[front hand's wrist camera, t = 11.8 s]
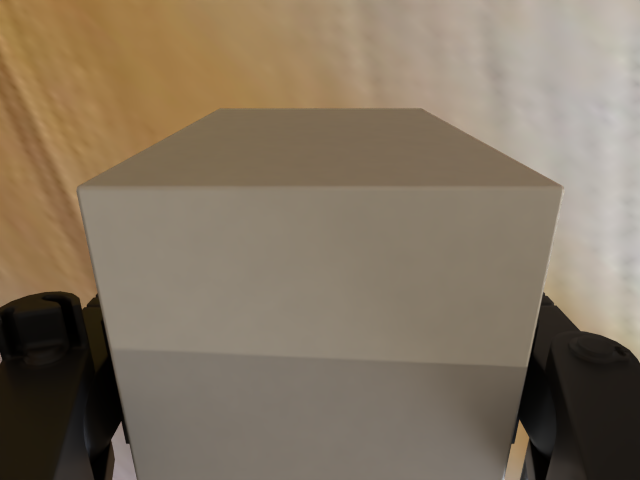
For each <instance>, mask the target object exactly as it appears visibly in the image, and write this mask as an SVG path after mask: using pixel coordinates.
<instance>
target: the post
mask: <svg viewBox="0 0 640 480" xmlns="http://www.w3.org/2000/svg"><path fill="white" fill-rule="evenodd" d="M563 195H564V187H563V186H562V185H560V184H558V183H556V182H554V181H552V180H551V179H549V178H547V177H545V176H543V175H542V174H540V173H538V172H536V171H534V170H532V169H531V168H529V167H527V166H525V165H523V164H522V163H520V162H518V161H516V160H514V159H512V158H511V157H509V156H507V155H505V154H503V153H501V152H500V151H498V150H496V149H494V148H492V147H491V146H489V145H487V144H485V143H483V142H481V141H480V140H478V139H476V138H474V137H472V136H470V135H469V134H467V133H465V132H463V131H461V130H460V129H458V128H456V127H454V126H452V125H450V124H449V123H447V122H445V121H443V120H441V119H440V118H438V117H436V116H434V115H432V114H430V113H429V112H427V111H425V110H423V109H421V108H414V109H218V110H216V111H214V112H213V113H211V114H209V115H207V116H205V117H204V118H202V119H200V120H198V121H196V122H194V123H193V124H191V125H189V126H187V127H185V128H183V129H182V130H180V131H178V132H176V133H174V134H172V135H171V136H169V137H167V138H165V139H163V140H162V141H160V142H158V143H156V144H154V145H152V146H151V147H149V148H147V149H145V150H143V151H141V152H140V153H138V154H136V155H134V156H132V157H131V158H129V159H127V160H125V161H123V162H121V163H120V164H118V165H116V166H114V167H112V168H110V169H109V170H107V171H105V172H103V173H101V174H99V175H98V176H96V177H94V178H92V179H90V180H89V181H87V182H85V183H83V184H81V185H79V186H78V187H77V196H78V201H79V206H80V210H81V215H82V220H83V225H84V229H85V234H86V239H87V244H88V248H89V253H90V258H91V263H92V267H93V272H94V277H95V282H96V286H97V291H98V296H99V301H100V306H101V310H102V315H103V320H104V325H105V329H106V334H107V339H108V344H109V348H110V353H111V358H112V363H113V367H114V372H115V377H116V382H117V386H118V391H119V396H120V401H121V406H122V410H123V415H124V420H125V425H126V429H127V434H128V439H129V444H130V448H131V453H132V458H133V463H134V467H135V472H136V477H137V480H504V477H505V472H506V467H507V462H508V458H509V453H510V448H511V443H512V439H513V434H514V429H515V424H516V419H517V415H518V410H519V405H520V400H521V396H522V391H523V386H524V381H525V377H526V372H527V367H528V362H529V357H530V353H531V348H532V343H533V338H534V334H535V329H536V324H537V319H538V314H539V310H540V305H541V300H542V295H543V291H544V286H545V281H546V276H547V272H548V267H549V262H550V257H551V252H552V248H553V243H554V238H555V233H556V229H557V224H558V219H559V214H560V209H561V205H562V200H563Z"/></svg>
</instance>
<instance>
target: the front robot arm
mask: <svg viewBox="0 0 640 480" xmlns="http://www.w3.org/2000/svg"><path fill="white" fill-rule="evenodd" d="M0 354H1V357H2V362H1V364H0V480H112V477H113V469H114V462H115V458H114V451H113V446H112V442H111V439H112V437H113V435H114V433H115V432H116V430H117V428H118V426H119V424H120V422H121V421H122V426H123V431H124V436H125V440H126V444H129V439H128V434H127V429H126V425H125V420H124V415H123V410H122V406H121V401H120V396H119V391H118V386H117V382H116V377H115V372H114V367H113V363H112V358H111V353H110V348H109V344H108V339H107V334H106V329H105V325H104V320H103V315H102V310H101V306H100V301H99V296H98V293H97V295H96V298H93V299H92V300H91V301H90V302H89V303H88V304H87V307H84V308H83V309H82V308H81V303H80V299H79V297H77V296H76V295H74V294H73V293H67V292H61V291H60V292H44V293H39V294H34V295H29V296H26V297H23V298H20V299H17V300H14V301H11V302H9V303H8V304H6V305H4V306H2V307H0ZM519 419H520V421H521V423H522V425H523V427H524V428H525V430H526V432H527V434H528V436H529V442H528V446H527V451H526V455H525V460H524V464H523V469H522V473H521V477H520V480H640V363H639V361H638V359H637V358H636V357H635V356H634V355H633V353H632V352H631V351H630V350H629V349H627V348H625V347H624V346H622V345H621V344H619V343H618V342H616V341H613V340H611V339H609V338H606V337H604V336H601V335H597V334H593V333H589V332H584V331H580V330H579V329H578V328H577V327H576V326H575V325H574V324H573V323H572V322H571V321H570V320H569V319H568V317H567V316H566V315H565V314H564V313H563V312H562V311H561V310H560V309H559V308H558V307H557V306H554V303H553V302H552V301H551V299H550V298H549V297H548V296H545V293H544V292H543V295H542V300H541V305H540V310H539V314H538V319H537V324H536V329H535V334H534V338H533V343H532V348H531V353H530V357H529V362H528V367H527V372H526V377H525V381H524V386H523V391H522V396H521V400H520V405H519V410H518V415H517V419H516V424H515V429H514V434H513V439H512V443H511V444H514V442H515V438H516V433H517V428H518V423H519Z"/></svg>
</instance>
